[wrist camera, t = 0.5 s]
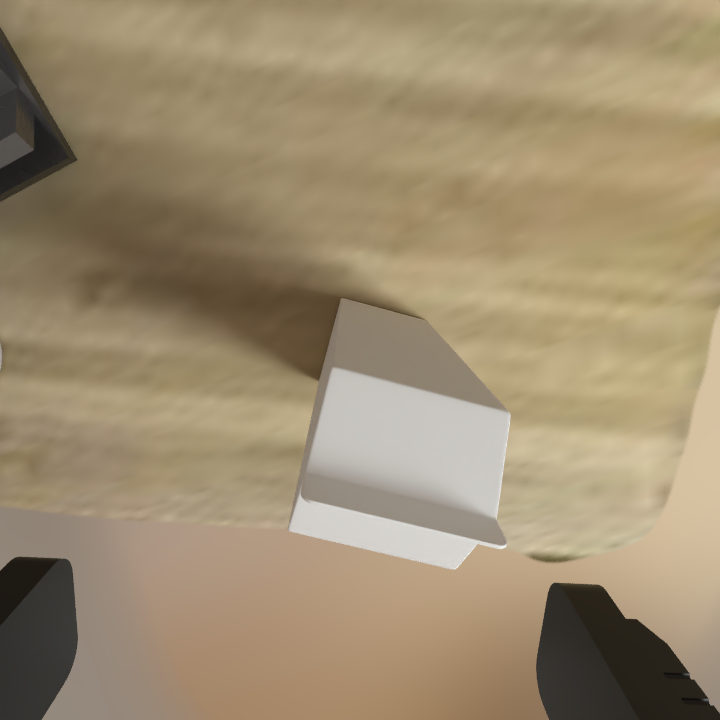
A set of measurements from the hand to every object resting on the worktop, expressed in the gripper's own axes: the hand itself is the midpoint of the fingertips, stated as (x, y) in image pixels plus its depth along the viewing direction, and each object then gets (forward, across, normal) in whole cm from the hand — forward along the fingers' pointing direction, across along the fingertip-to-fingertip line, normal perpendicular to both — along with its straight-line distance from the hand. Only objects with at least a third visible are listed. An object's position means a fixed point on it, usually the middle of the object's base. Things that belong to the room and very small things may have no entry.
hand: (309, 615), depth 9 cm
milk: (+27, -2, +2) cm, 28 cm away
